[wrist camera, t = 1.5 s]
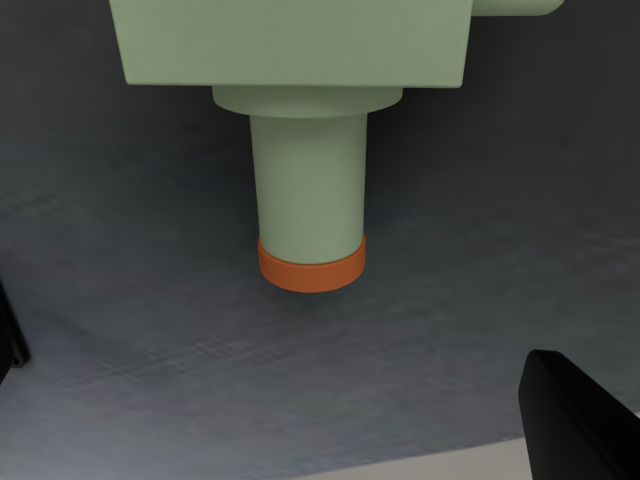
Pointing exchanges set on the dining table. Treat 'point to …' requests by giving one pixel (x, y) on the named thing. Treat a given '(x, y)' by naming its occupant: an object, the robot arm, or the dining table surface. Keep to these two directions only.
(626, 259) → the dining table surface
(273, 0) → the jug
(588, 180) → the dining table surface
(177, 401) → the dining table surface
